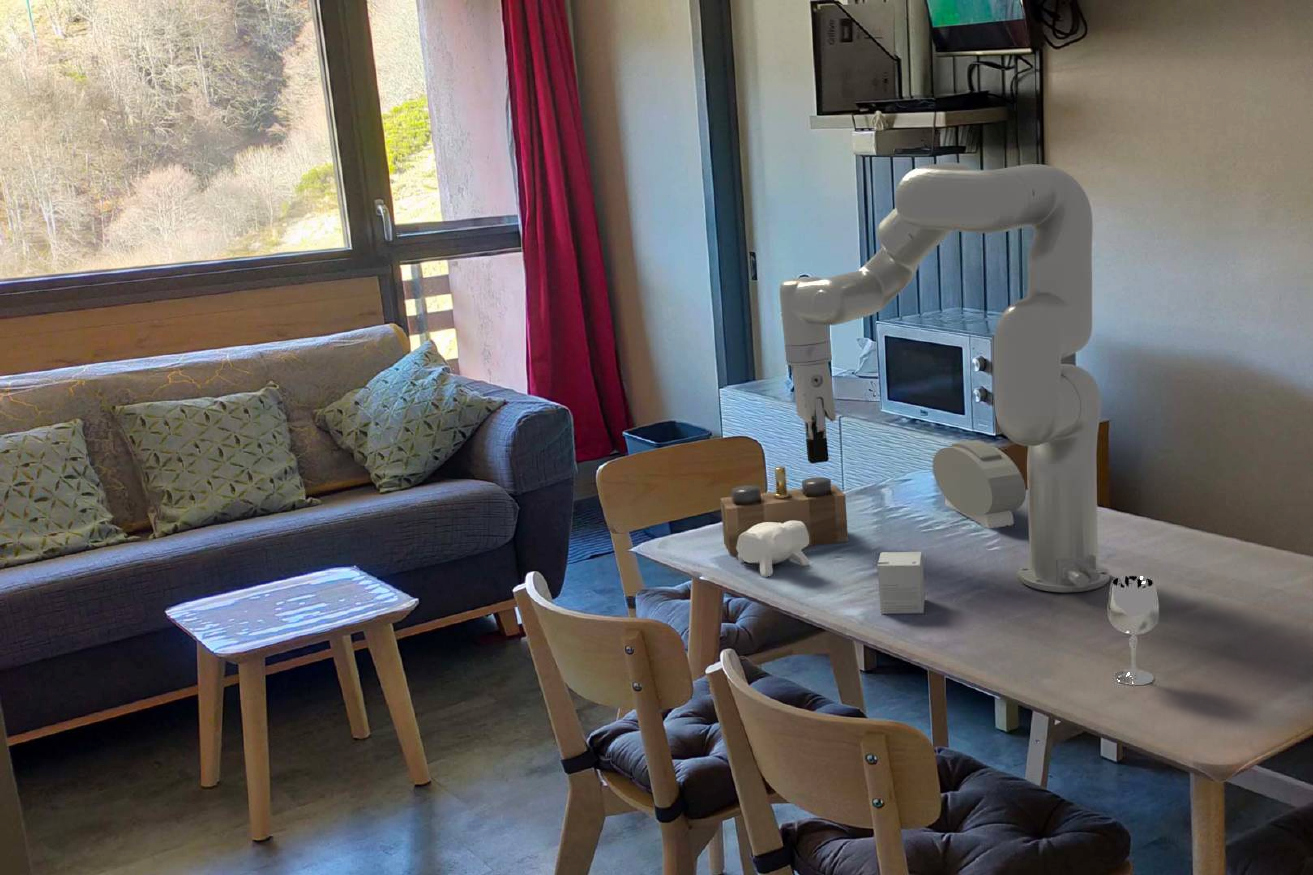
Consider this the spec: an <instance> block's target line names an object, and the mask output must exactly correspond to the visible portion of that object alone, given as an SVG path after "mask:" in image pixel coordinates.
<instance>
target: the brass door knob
mask: <svg viewBox="0 0 1313 875" xmlns="http://www.w3.org/2000/svg"><path fill="white" fill-rule="evenodd" d="M774 478H775V481H774V482H775V491H773V492H774V493H773V498H775V499H786V498H790V497H791V492H789V491H787V490H788V487H787V486H788V485H787V473H786V467H785V466H776V467H774Z"/></svg>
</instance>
